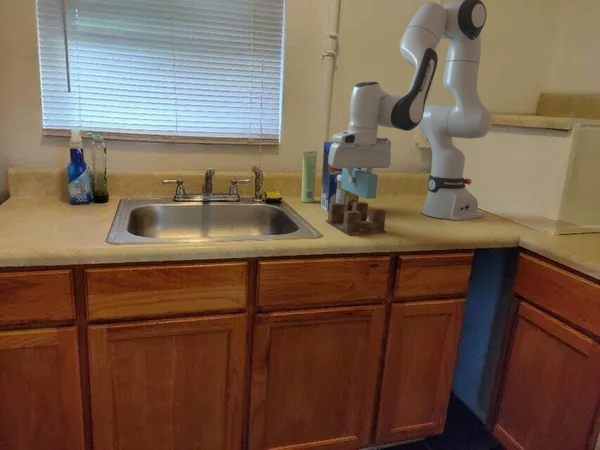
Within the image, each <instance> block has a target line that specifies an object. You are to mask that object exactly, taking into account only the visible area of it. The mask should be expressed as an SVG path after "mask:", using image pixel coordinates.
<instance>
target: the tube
mask: <svg viewBox="0 0 600 450" xmlns="http://www.w3.org/2000/svg"><path fill="white" fill-rule="evenodd" d="M317 159H318V150H311V151H309V150H308V151H306V150H305V151H302V171H301V172H302V173H301V174H302V175H301V195H300V196H301V198H300V199H301V202H302V203H314V202H315V189H316V188H315V186H316V174H317Z"/></svg>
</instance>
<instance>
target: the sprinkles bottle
mask: <svg viewBox="0 0 600 450" xmlns="http://www.w3.org/2000/svg"><path fill="white" fill-rule="evenodd" d="M341 182H342V175H338V176H337V193H336V203H343V204H344V211H348V197H349V191H347V190H344V189H342V188H341Z"/></svg>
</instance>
